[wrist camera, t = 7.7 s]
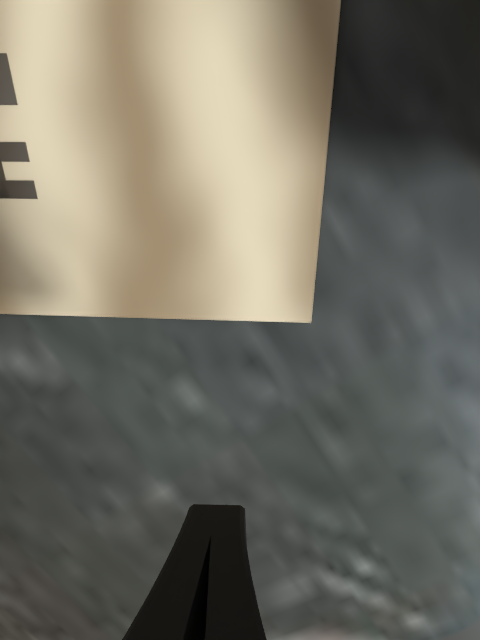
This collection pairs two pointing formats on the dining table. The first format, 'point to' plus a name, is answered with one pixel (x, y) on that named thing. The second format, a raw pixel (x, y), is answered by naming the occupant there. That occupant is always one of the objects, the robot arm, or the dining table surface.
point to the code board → (163, 156)
